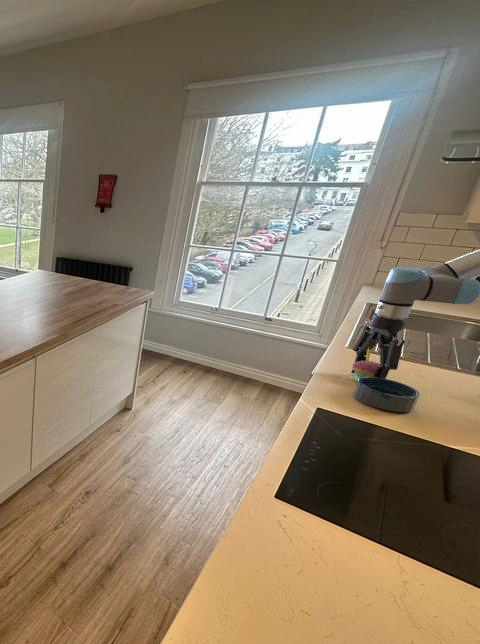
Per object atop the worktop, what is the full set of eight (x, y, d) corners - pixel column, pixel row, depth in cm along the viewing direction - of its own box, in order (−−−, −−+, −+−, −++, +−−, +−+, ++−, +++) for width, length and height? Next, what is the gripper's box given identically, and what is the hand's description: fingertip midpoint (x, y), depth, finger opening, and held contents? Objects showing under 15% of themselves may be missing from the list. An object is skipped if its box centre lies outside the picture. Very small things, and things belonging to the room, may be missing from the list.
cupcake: (346, 381, 136) (358, 348, 132) (349, 373, 141) (361, 342, 137) (381, 389, 130) (394, 356, 126) (383, 381, 135) (396, 348, 131)
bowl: (425, 415, 116) (432, 399, 114) (372, 411, 118) (379, 395, 116) (389, 393, 128) (396, 378, 126) (342, 390, 130) (348, 375, 128)
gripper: (353, 306, 138) (333, 365, 146) (403, 326, 118) (376, 393, 126) (378, 307, 136) (356, 366, 144) (433, 328, 117) (404, 395, 125)
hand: (365, 379), depth 135 cm, fingers closed on cupcake, 8 cm apart
